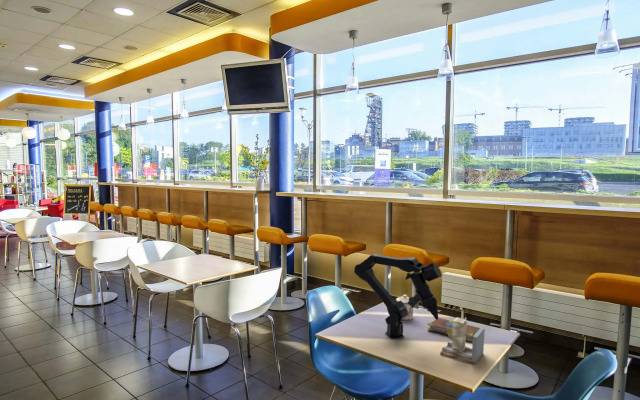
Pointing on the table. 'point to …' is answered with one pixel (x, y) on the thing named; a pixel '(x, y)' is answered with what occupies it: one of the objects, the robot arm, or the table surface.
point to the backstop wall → (478, 344)
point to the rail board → (459, 353)
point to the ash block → (459, 334)
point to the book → (451, 328)
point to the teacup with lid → (408, 307)
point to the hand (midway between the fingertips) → (437, 319)
